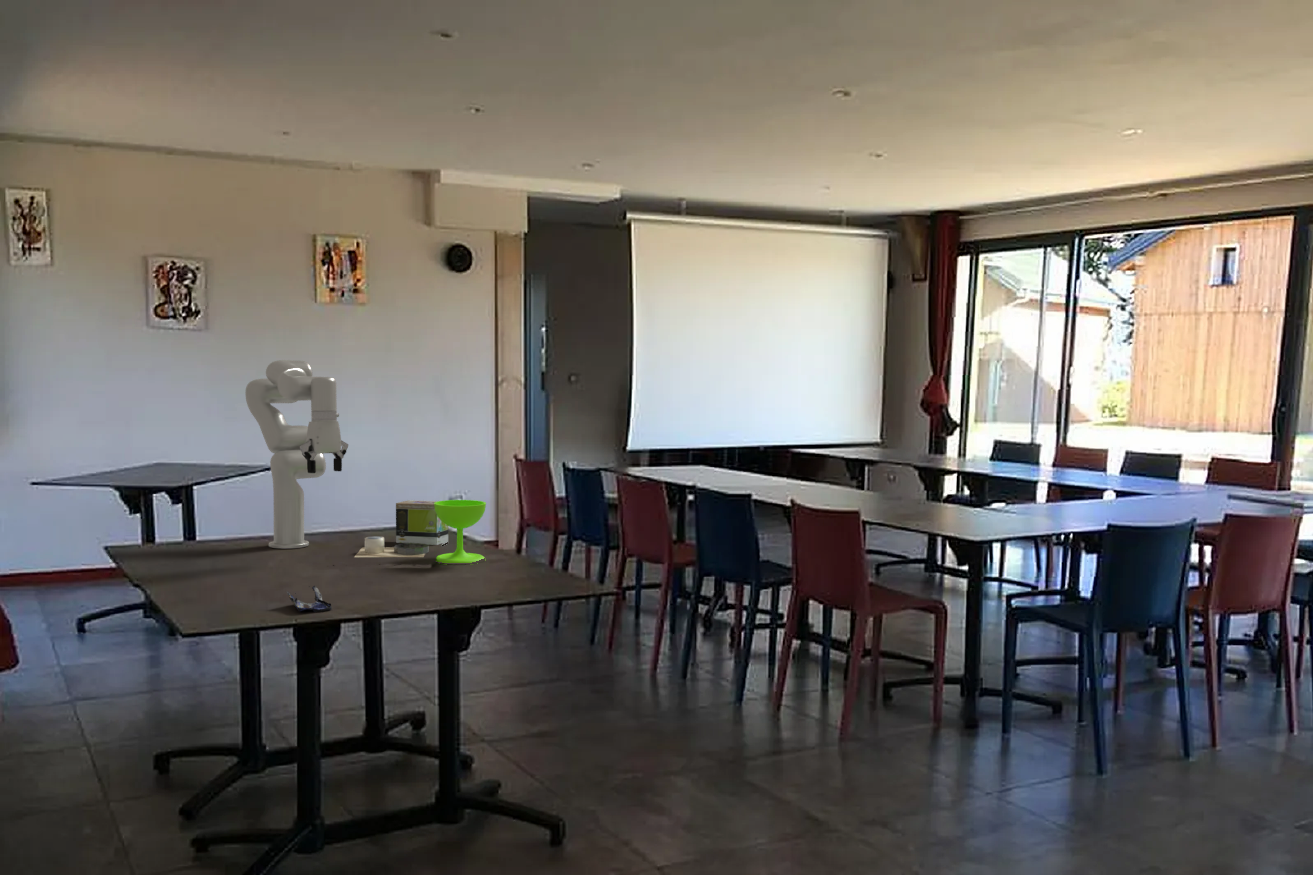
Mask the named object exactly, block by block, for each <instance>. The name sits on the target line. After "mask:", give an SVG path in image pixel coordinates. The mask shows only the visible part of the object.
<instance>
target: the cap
mask: <svg viewBox="0 0 1313 875" xmlns="http://www.w3.org/2000/svg"><path fill="white" fill-rule="evenodd" d="M364 547H365V553H368V554H379V553H384V547H385V537H384V536H376V535H375V536H367V537H364Z"/></svg>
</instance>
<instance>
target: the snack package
mask: <svg viewBox="0 0 1313 875" xmlns="http://www.w3.org/2000/svg"><path fill="white" fill-rule="evenodd" d="M308 587H309V588H310V587H311V589H312V591H314V601H315V602H312V603H309V602H308V603H307V602H304V601H302V600H299V599H298V598H297V597H294V595H292V594H291V593H290V592H289V591H288V590H287V589H285V592H286V594H287V596H288V597H289V600H291V603H292V604H293V605H294V606H295V608H296V610H298V612H302V611H313V613H320V612H327V611H331V610H333V609H332V604H331V603H330V602H329V603H328V602H326V601H325V600H323V595H322V593H321V592H320V590H319V588H318V587H317V585H313V586H308ZM294 594H297V592H294ZM304 605H307V606H308V607H304Z"/></svg>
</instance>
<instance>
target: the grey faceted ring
mask: <svg viewBox="0 0 1313 875" xmlns="http://www.w3.org/2000/svg"><path fill="white" fill-rule="evenodd" d="M393 547H394V553H396V554H401V555H419V554H425V555H426V554H429V552H430V550H429V549H430V545H427V544H421V543H397V544H395V545H394V546H393Z"/></svg>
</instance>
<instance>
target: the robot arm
mask: <svg viewBox="0 0 1313 875" xmlns="http://www.w3.org/2000/svg"><path fill="white" fill-rule="evenodd" d="M265 376H266V378H257V379H252V380H251V381H249V382H248V384H247V385H246V388H245V401H246V405H247V407H248V410H249V411H250V413H251V415H252V417H253V418H254V420H255V421H256V422H257V424H258V426H259V428H260V432H261V433H262V436H263V439H264V441H265V444H266V446H267V449H268V450H269V452H271V453H272V454H273V455H272V456H271V458H270V461H269V462H270V464H269V465H270V471H271V477H272V487H273V541H269V543H268V547H269V548H273V549H299V548H300V549H301V548H304V547H308V546H309V545H310V542H309V540H305V493H304V490H303V488H302V485H300V483H299V482H298V480H300V479H302V480H303V479H316V478H320V477H321V476H323V475H324V473H325V472H326V469H327V462H326V458H325V456H324V455H325V454H332V455H333V456H334V458H333V471H334V472H342V470H343V469H342V467H343V460H342V459H344V458H345V455H346V453H347V451H348V447H349V444H348V443H347V442H345V441H344V440H342V437H341V429H340V423H339V421H338V418H339V417H340V413H338V410H337V409H338V408H337V380H336V379H335V378H334V377H330V376H313V370H312V366H310V364H309V363H308V362H307V361H304V360H290V359H288V360H285V359H284V360H283V359H282V360H274V361H272V362H270V363H269V364H268V365H267V366H266V369H265ZM298 401H310V404H311V405H310V409H311V413H310V416H311V418H310V419H311V421H308V426H307V425H290V424H288V423H287V421H286V418H285V416H284V414H283V412H281V411H280V410H279V409H278V408H276V407H275V406H274V405H272V404H294V403H297V402H298Z"/></svg>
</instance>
